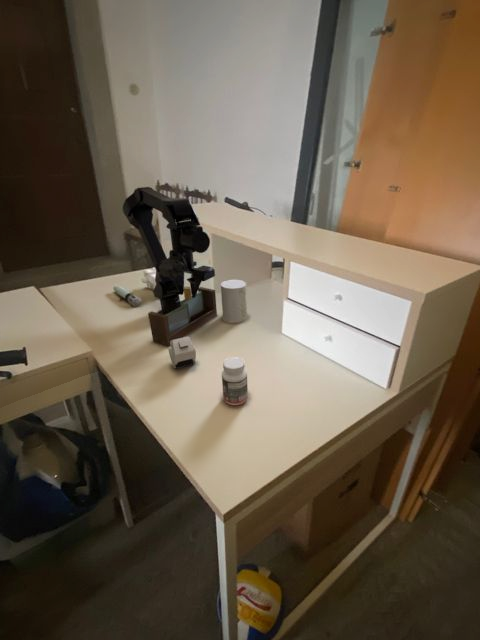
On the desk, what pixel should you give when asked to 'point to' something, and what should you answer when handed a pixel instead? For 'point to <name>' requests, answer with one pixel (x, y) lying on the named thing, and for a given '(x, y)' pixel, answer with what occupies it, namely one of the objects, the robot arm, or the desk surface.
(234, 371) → the pill bottle
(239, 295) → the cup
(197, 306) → the sash
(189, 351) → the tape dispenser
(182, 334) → the brown book rack
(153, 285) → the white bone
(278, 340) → the desk surface
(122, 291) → the flashlight
